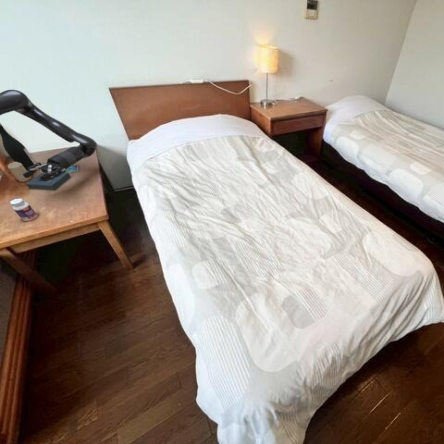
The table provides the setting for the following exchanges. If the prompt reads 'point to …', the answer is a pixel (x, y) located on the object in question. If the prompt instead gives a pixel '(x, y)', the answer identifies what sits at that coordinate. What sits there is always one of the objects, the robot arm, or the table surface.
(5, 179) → the table surface
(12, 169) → the candle
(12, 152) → the wine bottle
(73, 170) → the smartphone
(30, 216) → the pill bottle
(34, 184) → the socket pad
